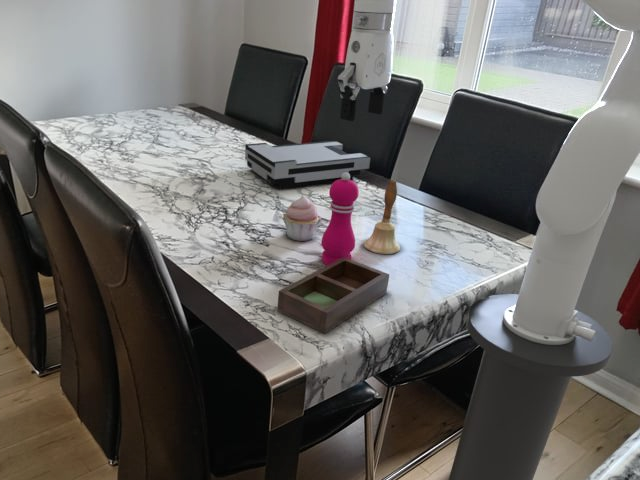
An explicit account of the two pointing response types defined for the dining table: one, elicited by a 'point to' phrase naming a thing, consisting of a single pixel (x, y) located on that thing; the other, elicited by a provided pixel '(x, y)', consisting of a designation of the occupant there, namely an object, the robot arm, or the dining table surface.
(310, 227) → the cupcake
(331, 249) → the pepper mill
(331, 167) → the game console
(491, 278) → the dining table surface
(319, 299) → the holder
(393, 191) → the hand bell
